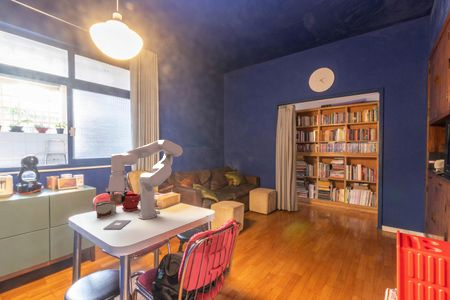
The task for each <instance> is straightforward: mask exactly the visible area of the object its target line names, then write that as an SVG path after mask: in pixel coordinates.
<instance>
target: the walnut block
mask: <svg viewBox="0 0 450 300" xmlns="http://www.w3.org/2000/svg"><path fill="white" fill-rule="evenodd" d="M121 197H122V193H121V192H114V194H112V195H111V205H116V206H119V205H122V203H124V202H125V201H124V202H121Z"/></svg>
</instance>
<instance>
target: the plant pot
mask: <svg viewBox="0 0 450 300" xmlns="http://www.w3.org/2000/svg"><path fill="white" fill-rule="evenodd" d="M139 204H140V194H139V193H127V194H126V195H125V202H124V203H122V204H121V205H122V208H121V209H122V210H123V211H124V212H132V211H133V212H134V211H137V210H138V209H139Z"/></svg>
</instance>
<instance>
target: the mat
mask: <svg viewBox="0 0 450 300" xmlns="http://www.w3.org/2000/svg"><path fill="white" fill-rule="evenodd" d="M131 221H132V219H131V220H130V219H125V220H124V219H116V220H114V221H112V222H111V223H109V224H107V226H104V227H103V230H122V229H123V228H124V227H126V225H128V224H129V223H130V222H131Z"/></svg>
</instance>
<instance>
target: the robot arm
mask: <svg viewBox="0 0 450 300" xmlns="http://www.w3.org/2000/svg"><path fill="white" fill-rule="evenodd" d="M160 152H163V157H162V159H161V160H160V161H158V162H157V163H155V165H153V167H152V168H151V170H150V171H151V172H143V173H141V174H140V175H139V178H138V183H139V188H140V194H139V195H140V199H139V204H140V205H139V206H140V214H138V215H137V217H138V218H137V219H141V220H151V219H154V218H156V217H157V215H161V211H160V210H156V208H155V193H156V192H155V188H157V187H159V186H161V184H163V183H164V182H165V181H166V180H167V179H168V178H170V176H171V174H172V170H173V169H172V165H173V163H174V161H173V160H174V159H173V157H177V158H178V157H180V156H182V154H183V148H182V146H180V145H179V144H177V143H175V142H173V141H172V140H171V141H170V140H168V139H158V140H155V141H153V142H150V143H148V144H146V145H142V146H139V147H137V148H133V149H131V150H128V151H126V152H123V153H119V154H118V153H116V154H114V153H113V154H111V157H110V158H111V159H110V160H111V161H110V163H111V164H110V167H111V168H110V169H111V170H110V172H111V173H110V175H109V180H108V187H106V188H105V189H104V191H105V192H106V193H107V194H108V195H109V197H110V199H109V201H111V195H112V194H114V193H122V197H121V202H124V201H125V195H126V194H129V192H130V191H131V188H129V187H128V181H127V176H126V175H127V171H125V166H134V165H136V164H138V161H139V159H145V158H146V159H147V158H151V157H152V156H154V155H156V154H158V153H160Z"/></svg>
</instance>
